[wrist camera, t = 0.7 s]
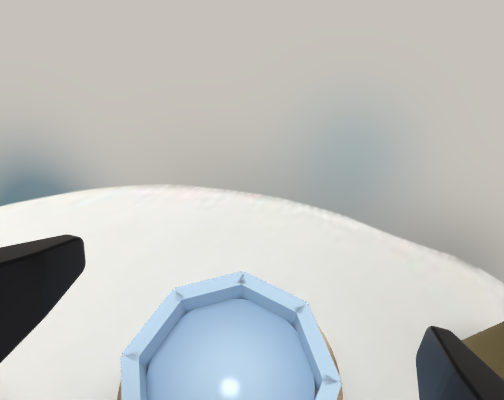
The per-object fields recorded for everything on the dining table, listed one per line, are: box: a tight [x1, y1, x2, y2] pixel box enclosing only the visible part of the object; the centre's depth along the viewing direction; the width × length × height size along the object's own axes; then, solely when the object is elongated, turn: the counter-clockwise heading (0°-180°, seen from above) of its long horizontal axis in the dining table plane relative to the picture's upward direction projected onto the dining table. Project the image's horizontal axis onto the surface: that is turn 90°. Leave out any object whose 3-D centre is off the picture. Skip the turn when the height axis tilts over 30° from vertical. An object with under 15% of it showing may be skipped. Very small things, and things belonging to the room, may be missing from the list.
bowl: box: [121, 271, 342, 400], centre depth 20 cm, size 12×12×2 cm
